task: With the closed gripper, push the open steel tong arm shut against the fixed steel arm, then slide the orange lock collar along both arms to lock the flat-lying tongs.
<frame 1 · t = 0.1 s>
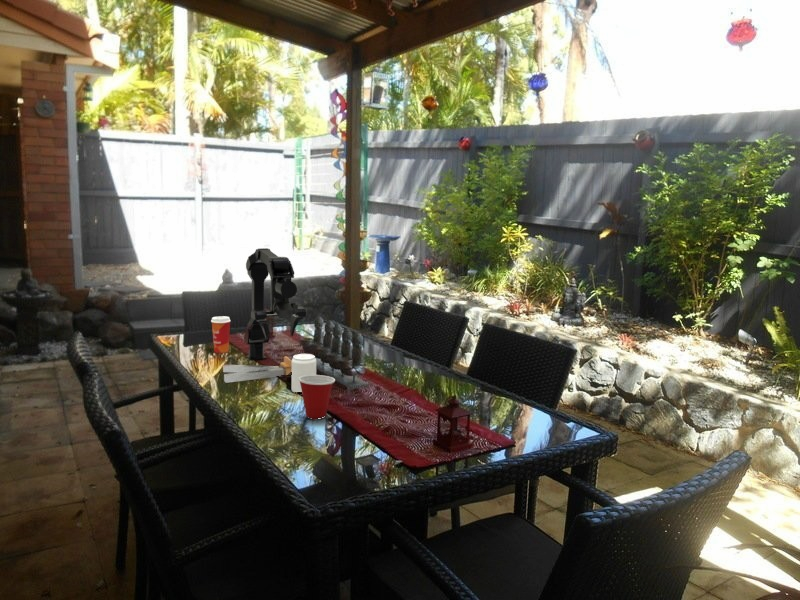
hand: (279, 337, 230), 15 cm above the table, tool pointing down, fingers open, 9 cm apart
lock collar: (286, 366, 236), point 3 cm above the table, slide at 0.0 cm
paper cup: (221, 352, 265), on the table
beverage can: (303, 392, 218), on the table
tong arm: (251, 369, 237), point 1 cm above the table, hinge at -30.0°
plastic cup: (316, 417, 195), on the table
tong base: (255, 377, 231), on the table
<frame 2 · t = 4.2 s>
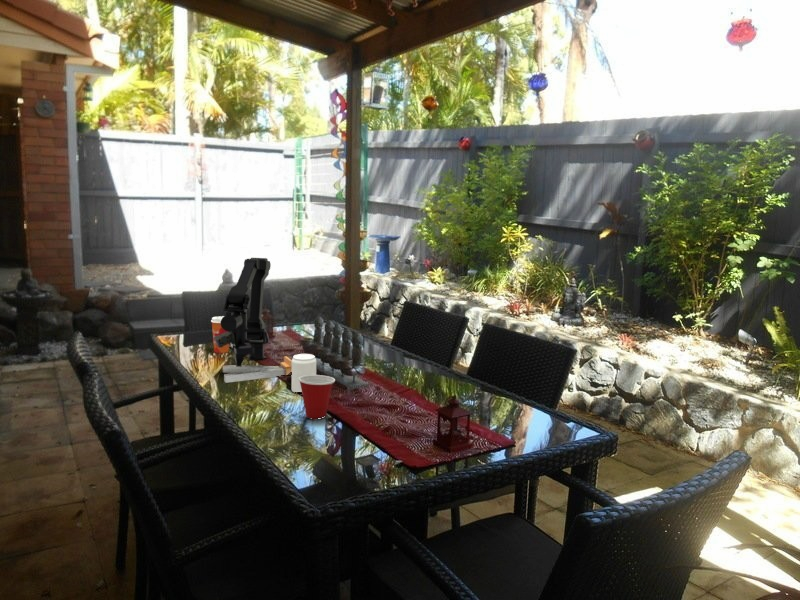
hand: (238, 366, 238), 2 cm above the table, tool pointing down, fingers closed
tong arm: (251, 369, 236), point 1 cm above the table, hinge at -28.7°, touching gripper
everything else where it was.
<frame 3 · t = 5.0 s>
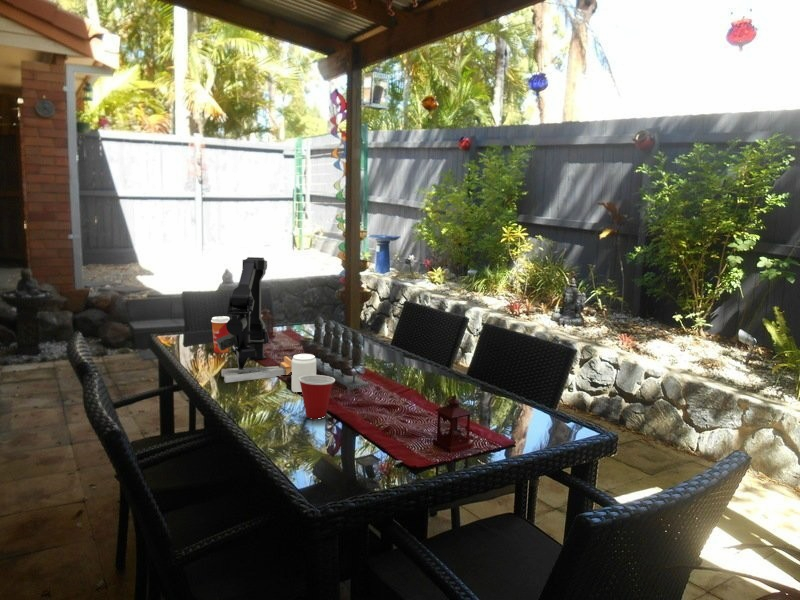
hand: (240, 369, 235), 2 cm above the table, tool pointing down, fingers closed
tong arm: (250, 371, 234), point 1 cm above the table, hinge at -13.6°, touching gripper
everything else where it was.
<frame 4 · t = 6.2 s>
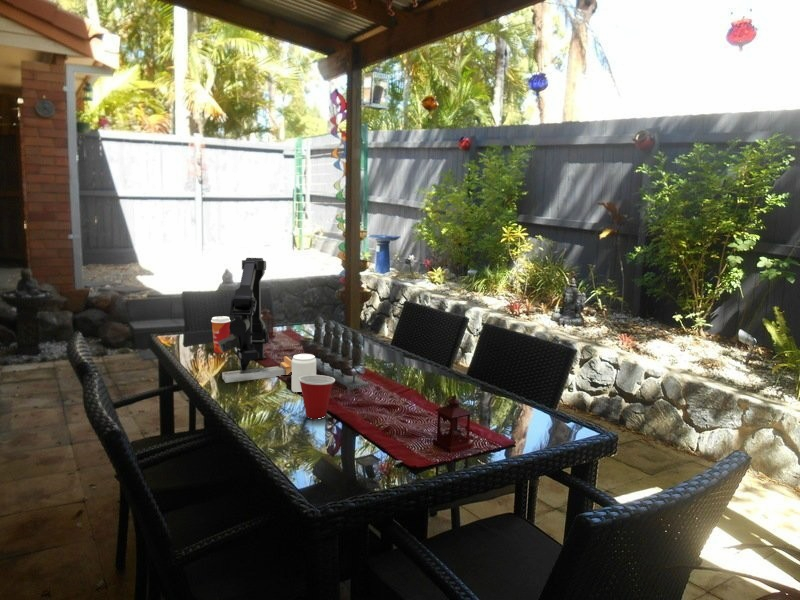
hand: (243, 372, 232), 2 cm above the table, tool pointing down, fingers closed
tong arm: (251, 373, 232), point 1 cm above the table, hinge at -1.2°, touching gripper
everything else where it was.
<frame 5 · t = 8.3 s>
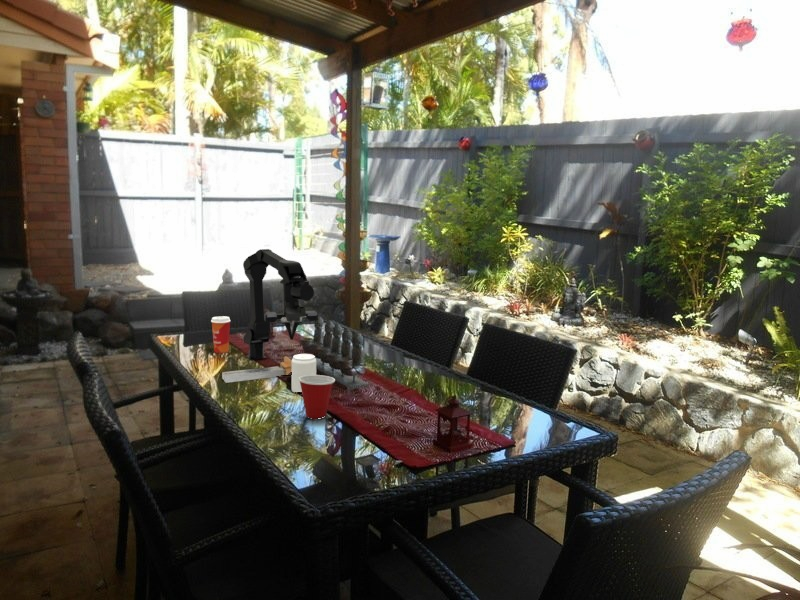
hand: (291, 339, 237), 12 cm above the table, tool pointing down, fingers closed
tong arm: (251, 373, 232), point 1 cm above the table, hinge at -1.2°
everything else where it was.
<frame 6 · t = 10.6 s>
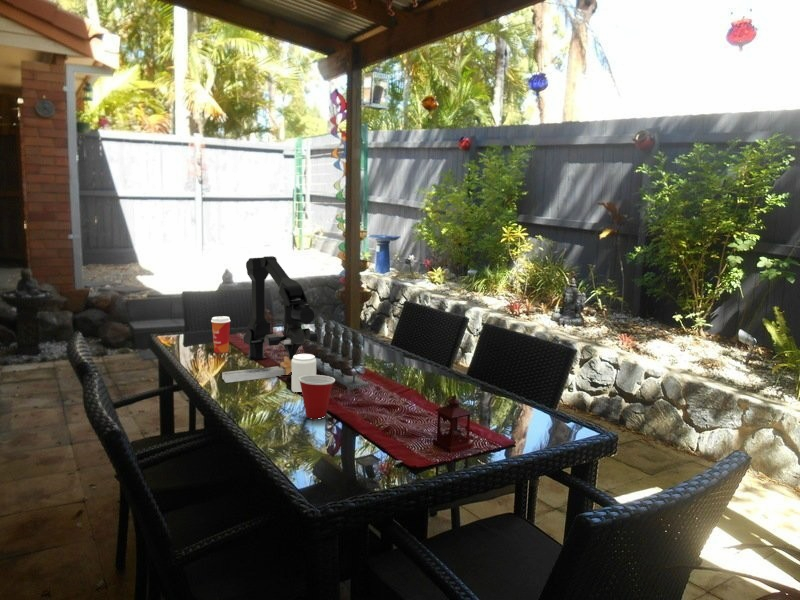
hand: (291, 361, 237), 5 cm above the table, tool pointing down, fingers closed
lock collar: (286, 366, 236), point 3 cm above the table, slide at 0.0 cm, touching gripper
everything else where it was.
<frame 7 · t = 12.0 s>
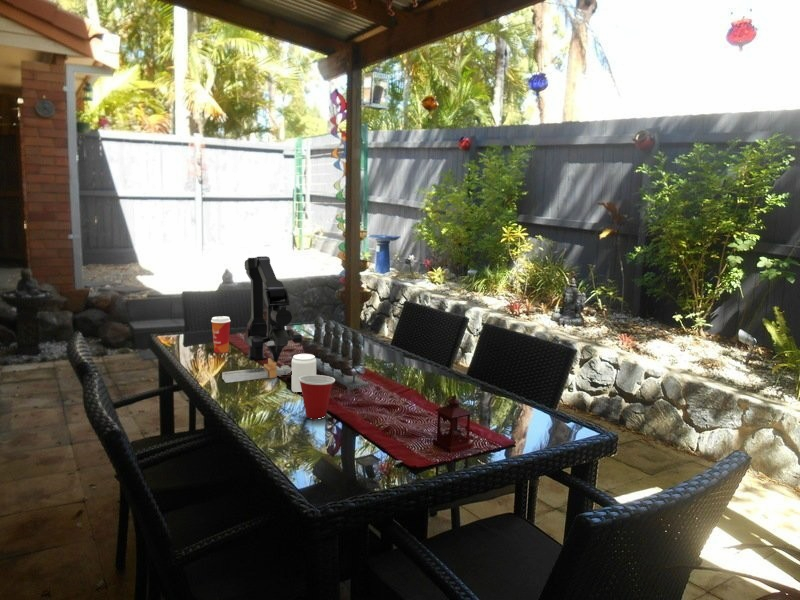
hand: (275, 362, 234), 5 cm above the table, tool pointing down, fingers closed
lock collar: (270, 367, 233), point 3 cm above the table, slide at 6.0 cm, touching gripper
everything else where it was.
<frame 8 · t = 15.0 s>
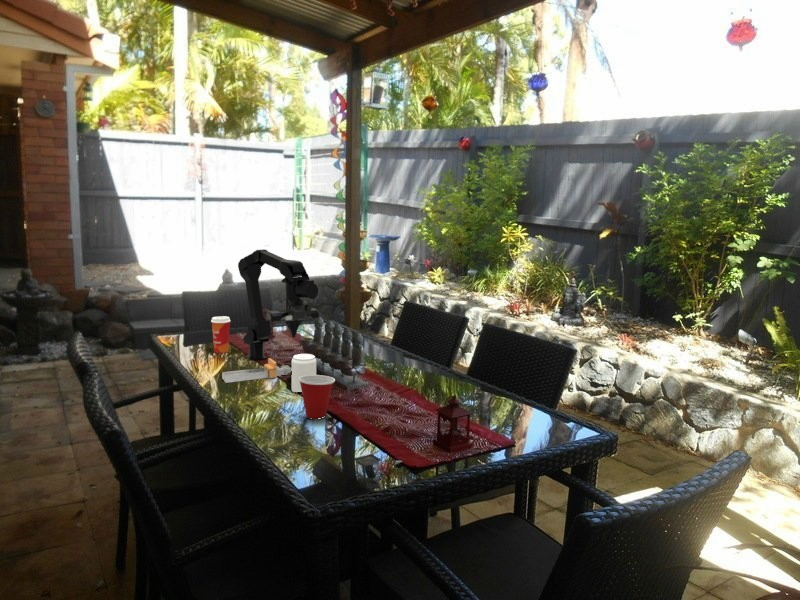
hand: (293, 337, 242), 12 cm above the table, tool pointing down, fingers closed
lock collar: (270, 367, 233), point 3 cm above the table, slide at 6.1 cm
everything else where it was.
at the end: tong arm at -1° (first picture: -30°); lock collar slide at 6.1 cm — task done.
